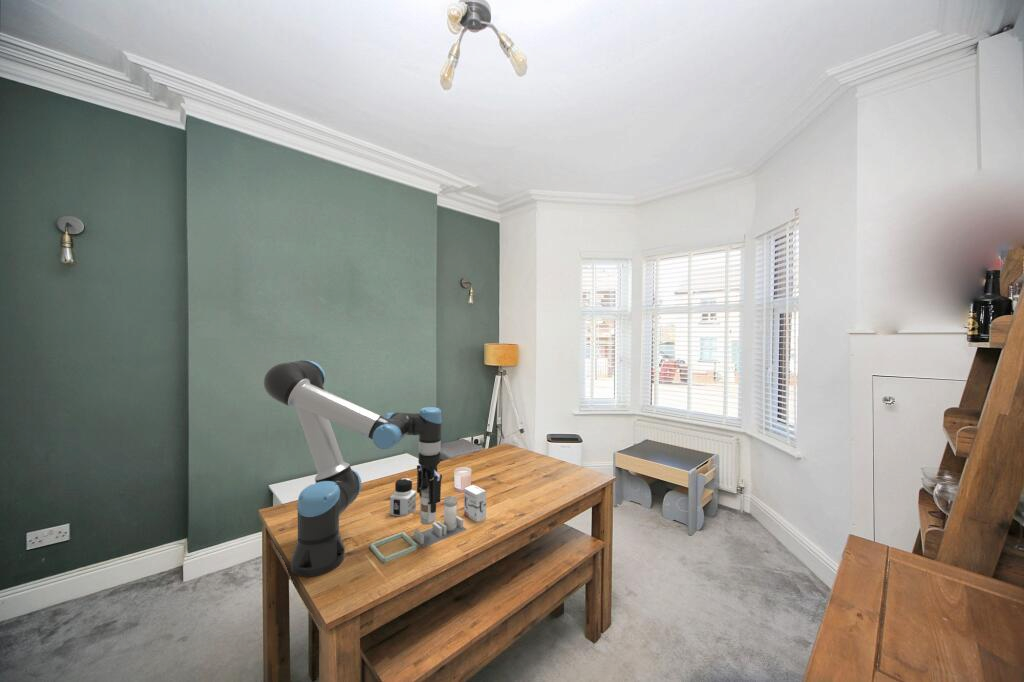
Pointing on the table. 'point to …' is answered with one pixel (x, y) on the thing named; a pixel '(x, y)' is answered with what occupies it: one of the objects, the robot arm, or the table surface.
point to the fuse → (450, 513)
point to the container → (403, 498)
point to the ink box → (475, 503)
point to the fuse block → (436, 533)
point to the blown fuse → (425, 506)
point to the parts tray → (395, 555)
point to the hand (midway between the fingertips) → (427, 517)
